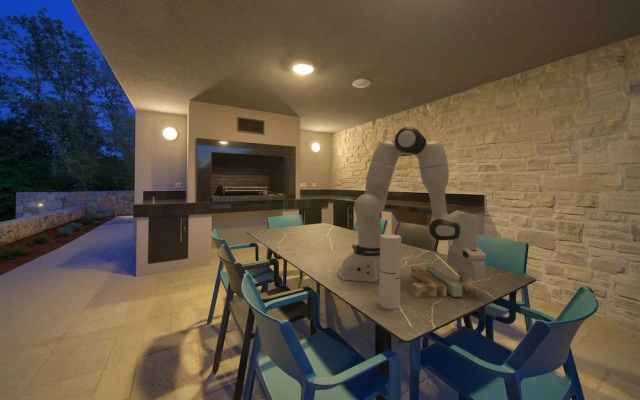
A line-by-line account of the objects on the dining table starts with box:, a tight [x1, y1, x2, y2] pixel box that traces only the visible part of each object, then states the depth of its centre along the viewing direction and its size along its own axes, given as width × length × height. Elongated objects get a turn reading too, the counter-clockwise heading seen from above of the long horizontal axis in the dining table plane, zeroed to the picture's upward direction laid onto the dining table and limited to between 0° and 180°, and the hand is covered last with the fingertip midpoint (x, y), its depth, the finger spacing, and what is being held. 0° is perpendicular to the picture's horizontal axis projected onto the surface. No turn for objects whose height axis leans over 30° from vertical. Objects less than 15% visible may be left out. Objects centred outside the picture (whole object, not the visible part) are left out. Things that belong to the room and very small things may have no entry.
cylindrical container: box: [378, 233, 402, 310], centre depth 91 cm, size 7×7×25 cm
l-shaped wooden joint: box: [410, 265, 448, 298], centre depth 109 cm, size 13×24×4 cm, turn 3°
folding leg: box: [425, 264, 463, 298], centre depth 108 cm, size 23×4×5 cm, turn 5°
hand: (463, 282), depth 105 cm, fingers closed
